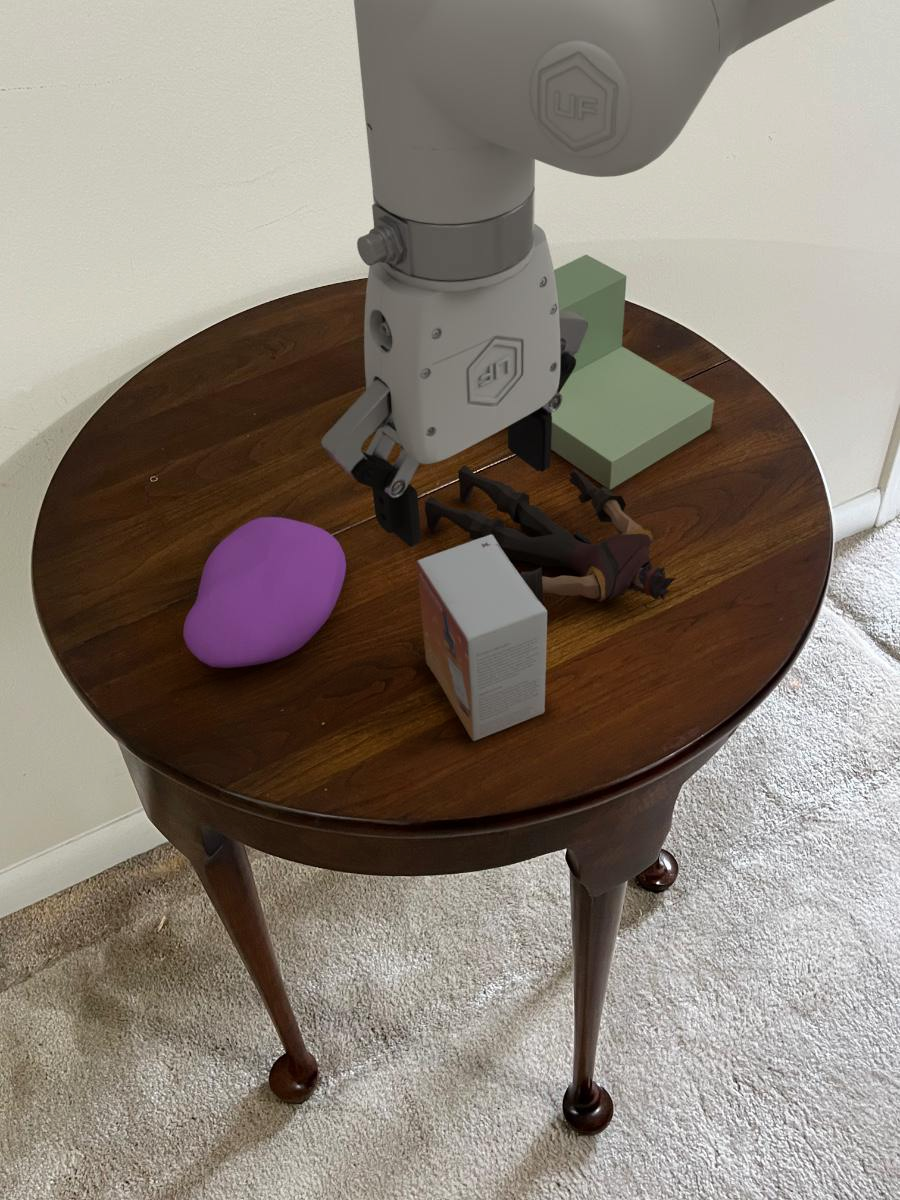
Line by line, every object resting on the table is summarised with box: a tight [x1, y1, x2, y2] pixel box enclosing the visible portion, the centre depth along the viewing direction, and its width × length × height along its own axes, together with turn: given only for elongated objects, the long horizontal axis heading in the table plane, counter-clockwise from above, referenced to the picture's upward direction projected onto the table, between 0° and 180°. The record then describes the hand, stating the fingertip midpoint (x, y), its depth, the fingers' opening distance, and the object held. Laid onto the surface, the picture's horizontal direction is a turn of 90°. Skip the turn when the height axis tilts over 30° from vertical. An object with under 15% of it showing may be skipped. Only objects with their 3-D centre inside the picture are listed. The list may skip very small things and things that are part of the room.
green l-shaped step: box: [551, 254, 715, 491], centre depth 95 cm, size 16×12×10 cm
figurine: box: [424, 465, 676, 604], centre depth 85 cm, size 15×4×20 cm
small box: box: [416, 535, 548, 742], centre depth 74 cm, size 8×6×10 cm
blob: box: [182, 516, 347, 669], centre depth 82 cm, size 14×11×5 cm
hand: (466, 494), depth 66 cm, fingers open, 9 cm apart
